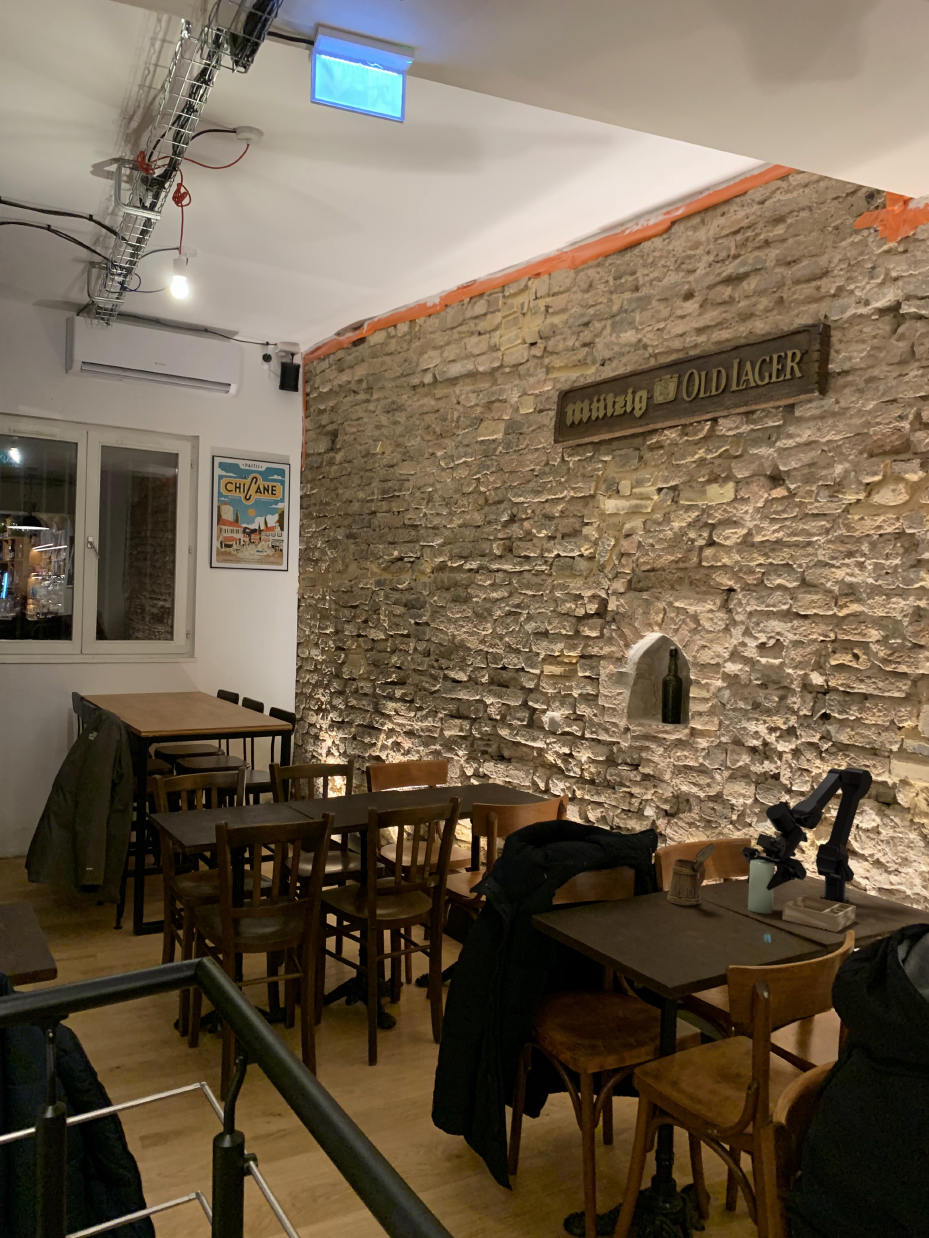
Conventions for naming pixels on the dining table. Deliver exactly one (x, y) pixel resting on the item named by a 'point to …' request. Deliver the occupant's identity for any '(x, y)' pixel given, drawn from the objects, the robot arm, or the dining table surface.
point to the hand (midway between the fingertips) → (757, 886)
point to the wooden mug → (689, 878)
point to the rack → (819, 913)
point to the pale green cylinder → (760, 886)
